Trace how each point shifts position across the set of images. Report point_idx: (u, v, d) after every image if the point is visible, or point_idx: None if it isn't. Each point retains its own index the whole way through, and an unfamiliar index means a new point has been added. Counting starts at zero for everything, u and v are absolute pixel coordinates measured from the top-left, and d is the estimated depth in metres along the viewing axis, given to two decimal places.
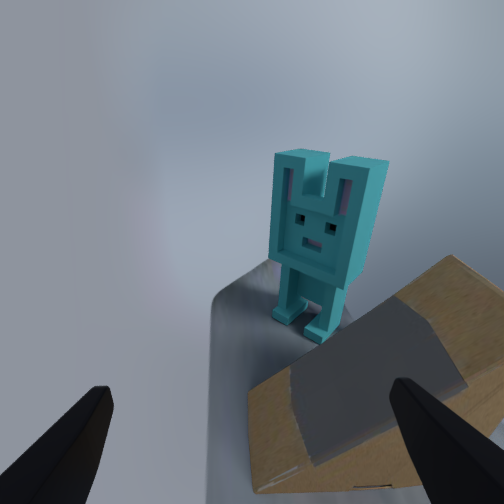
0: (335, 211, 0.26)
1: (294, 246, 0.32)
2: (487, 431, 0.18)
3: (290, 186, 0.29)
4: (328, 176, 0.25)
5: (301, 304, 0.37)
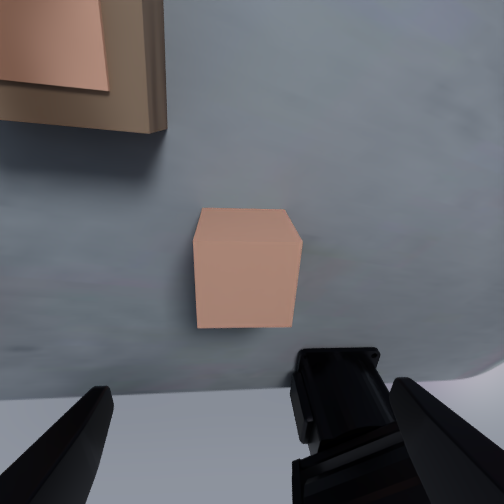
0: None
1: None
2: None
3: None
4: None
5: None
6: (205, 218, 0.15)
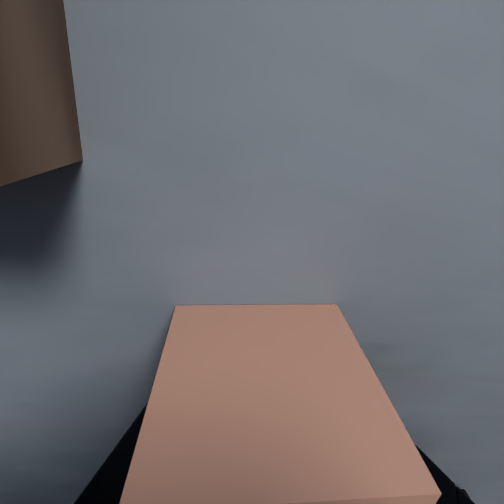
0: None
1: None
2: None
3: None
4: None
5: None
6: (175, 355, 0.07)
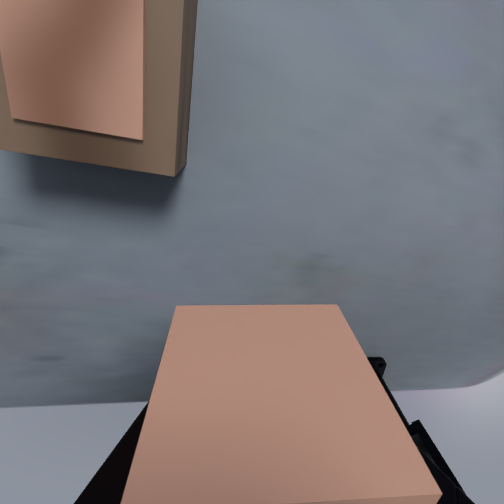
0: None
1: None
2: None
3: None
4: None
5: None
6: (176, 355, 0.07)
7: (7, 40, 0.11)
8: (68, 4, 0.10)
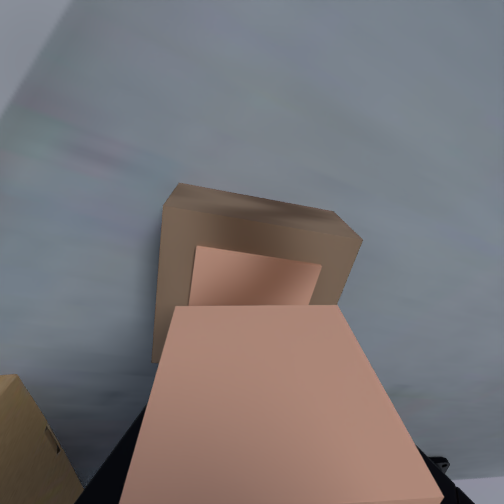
0: None
1: None
2: None
3: None
4: None
5: None
6: (174, 356, 0.07)
7: (196, 301, 0.12)
8: (255, 278, 0.12)
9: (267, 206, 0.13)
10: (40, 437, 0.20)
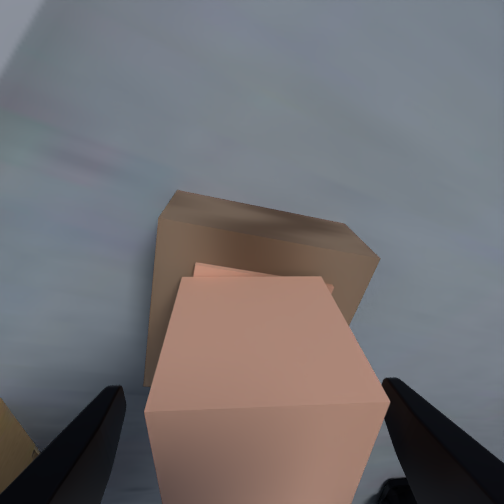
0: None
1: None
2: None
3: None
4: None
5: None
6: (183, 312, 0.08)
7: None
8: None
9: (273, 217, 0.12)
10: (27, 462, 0.19)
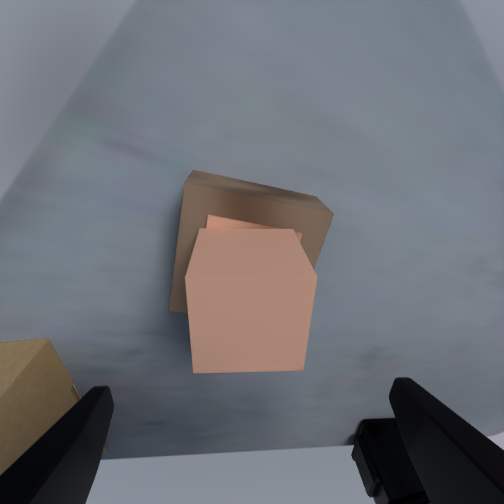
0: None
1: None
2: None
3: None
4: None
5: None
6: (201, 244, 0.13)
7: None
8: None
9: (262, 188, 0.17)
10: (68, 393, 0.24)
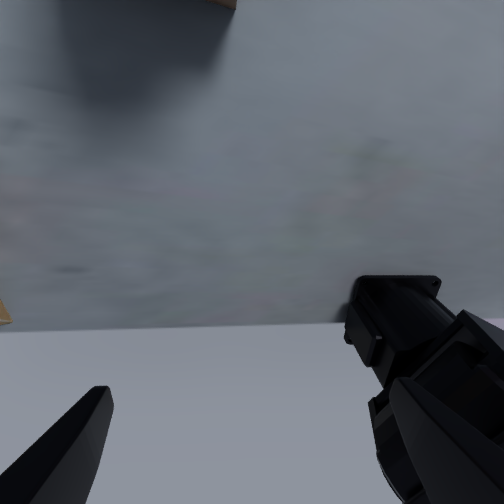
0: None
1: None
2: None
3: None
4: None
5: None
6: None
7: None
8: None
9: None
10: None
